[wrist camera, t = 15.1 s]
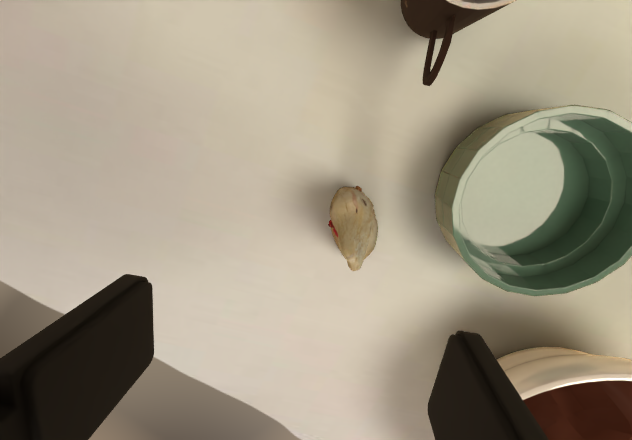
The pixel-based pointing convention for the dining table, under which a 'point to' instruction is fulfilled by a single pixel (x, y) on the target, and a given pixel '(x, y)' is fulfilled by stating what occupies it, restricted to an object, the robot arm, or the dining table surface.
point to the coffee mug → (444, 23)
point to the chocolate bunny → (353, 225)
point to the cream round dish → (574, 392)
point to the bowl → (541, 199)
